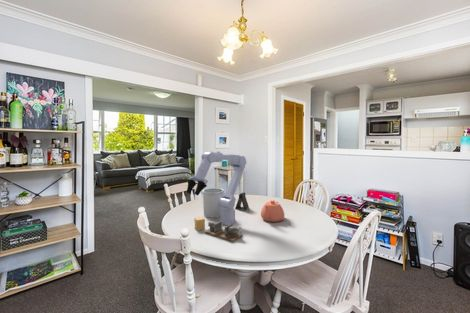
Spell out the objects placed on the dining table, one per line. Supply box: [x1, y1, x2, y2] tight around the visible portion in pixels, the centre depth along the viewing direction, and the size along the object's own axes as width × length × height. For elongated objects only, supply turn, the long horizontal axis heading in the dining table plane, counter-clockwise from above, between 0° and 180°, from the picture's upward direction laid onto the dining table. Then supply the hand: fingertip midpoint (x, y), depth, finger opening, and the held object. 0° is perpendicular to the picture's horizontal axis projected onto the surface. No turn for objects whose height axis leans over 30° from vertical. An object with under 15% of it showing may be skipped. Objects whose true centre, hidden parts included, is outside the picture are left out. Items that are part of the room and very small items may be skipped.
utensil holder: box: [202, 187, 225, 218], centre depth 162 cm, size 15×15×18 cm
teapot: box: [260, 199, 285, 223], centre depth 153 cm, size 22×16×12 cm
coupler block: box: [194, 216, 206, 231], centre depth 137 cm, size 5×4×6 cm
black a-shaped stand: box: [234, 192, 250, 211], centre depth 176 cm, size 9×6×12 cm, turn 64°
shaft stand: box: [203, 220, 244, 243], centre depth 128 cm, size 20×9×6 cm, turn 55°
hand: (192, 193), depth 126 cm, fingers open, 7 cm apart
